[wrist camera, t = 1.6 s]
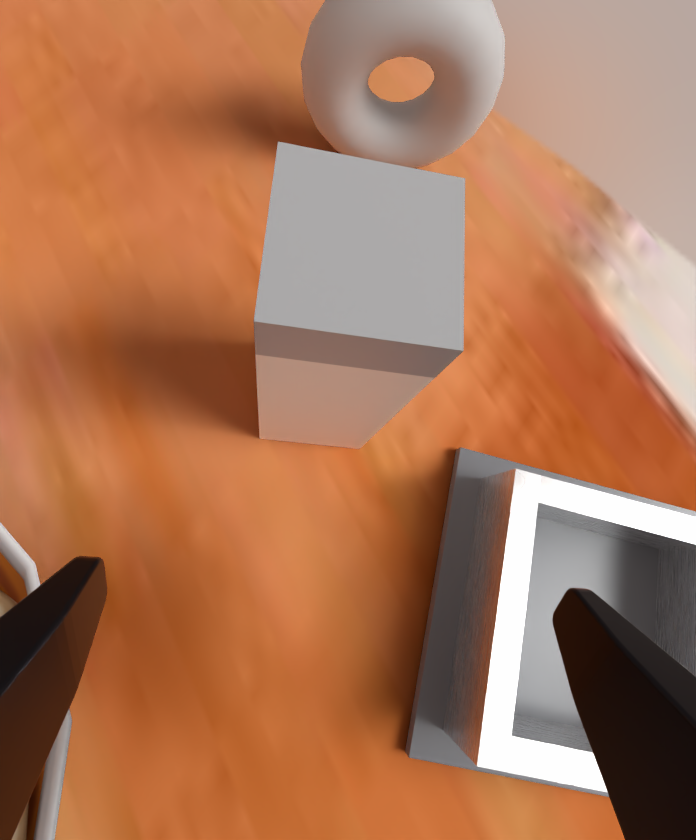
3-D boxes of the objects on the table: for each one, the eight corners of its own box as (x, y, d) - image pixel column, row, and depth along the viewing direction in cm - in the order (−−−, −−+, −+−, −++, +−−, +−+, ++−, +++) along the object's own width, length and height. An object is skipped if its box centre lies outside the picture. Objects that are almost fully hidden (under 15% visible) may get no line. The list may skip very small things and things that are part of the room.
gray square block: (359, 449, 24) (463, 350, 11) (259, 438, 23) (253, 321, 11) (365, 357, 25) (464, 178, 13) (271, 344, 24) (278, 141, 12)
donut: (455, 147, 30) (546, -39, 20) (457, 194, 29) (553, 23, 19) (296, 121, 28) (312, -96, 18) (293, 170, 27) (308, -31, 18)
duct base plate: (685, 806, 22) (696, 814, 22) (405, 751, 21) (409, 757, 20) (692, 513, 26) (701, 513, 26) (456, 449, 25) (460, 447, 24)
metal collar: (672, 776, 22) (746, 819, 19) (442, 729, 21) (477, 766, 17) (679, 531, 25) (743, 530, 22) (480, 478, 24) (515, 468, 20)
